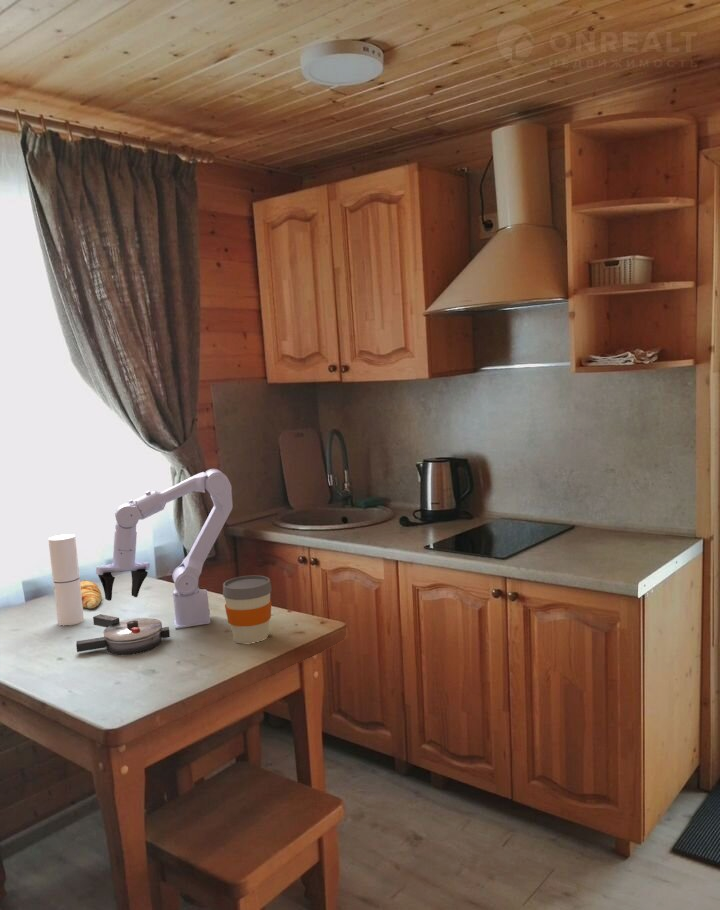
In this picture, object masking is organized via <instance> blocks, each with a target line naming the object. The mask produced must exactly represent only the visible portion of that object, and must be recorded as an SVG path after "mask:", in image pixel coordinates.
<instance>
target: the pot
mask: <svg viewBox="0 0 720 910" xmlns="http://www.w3.org/2000/svg"><path fill="white" fill-rule="evenodd" d="M170 632H171V631H170V627H169V626H165V627H162V629H161V631H159V632H158V633H156V634H155V635H152V636H150V637H147V638H143V639H139V640H134V641H125V642H116V641H110V640H107V639H105V638H104V636H101V637H96V638H88V639H83V640H82V639H81V640H76V644H75V646H76V652H77V653H80V652H86V651H93V650H99V649H105V650H106V652H107V653H109V654H111V655H115V656H133V655H138V654H143V653H147V652H149V651H152V650H154V649H156V648H158V647H159V646H160V645H162V644H163V639H167V638H171V635H170Z"/></svg>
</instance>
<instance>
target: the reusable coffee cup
mask: <svg viewBox="0 0 720 910" xmlns="http://www.w3.org/2000/svg"><path fill="white" fill-rule="evenodd" d="M272 590H273V589H272V584H271V579H270V577H267V576H265V575H258V574H257V575H255V574H254V575H243V576H237V577H233V578H230V579H227V580H226V581H224V582H223V583H222V596H223V597H224V601H225V605H224V608H225V613H226V617H227V622H228V624H229V625H230V628H231V633H232V638H233V642H235V641H236V642H239V643H252V642H257V641H261V640H263V639H265V638H267V637H269V631H270V630H269V628H270V627H269V626H270V619H271V617H272V599H271V592H272ZM267 639H268V638H267ZM236 642H235V643H236ZM239 643H238V644H239Z"/></svg>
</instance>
